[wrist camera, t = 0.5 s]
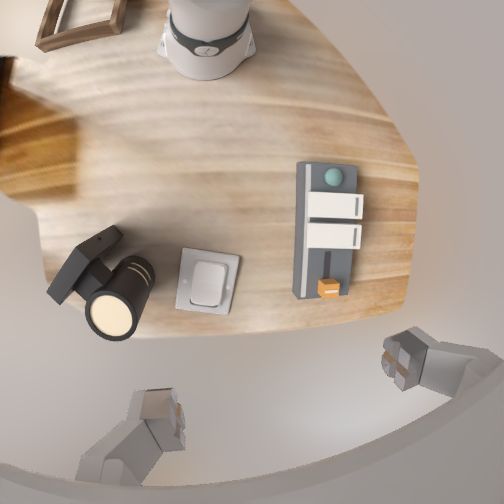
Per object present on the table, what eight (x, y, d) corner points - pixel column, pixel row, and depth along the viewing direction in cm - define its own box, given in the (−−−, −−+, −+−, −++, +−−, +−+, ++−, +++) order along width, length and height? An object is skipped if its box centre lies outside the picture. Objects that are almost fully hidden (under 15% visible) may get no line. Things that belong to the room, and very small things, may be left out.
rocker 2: (306, 221, 51) (307, 223, 50) (359, 223, 51) (362, 225, 49) (305, 245, 52) (306, 247, 51) (357, 247, 52) (360, 249, 50)
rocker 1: (307, 191, 50) (308, 191, 48) (360, 194, 49) (363, 194, 48) (306, 215, 51) (307, 217, 49) (359, 217, 50) (362, 219, 49)
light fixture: (135, 305, 54) (114, 354, 37) (85, 259, 50) (45, 293, 33) (166, 272, 54) (152, 313, 37) (114, 223, 50) (77, 245, 33)
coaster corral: (62, -7, 32) (55, -17, 27) (134, -25, 35) (131, -37, 30) (44, 52, 37) (34, 45, 32) (121, 34, 40) (115, 23, 35)
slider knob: (318, 279, 55) (325, 285, 52) (333, 278, 55) (340, 283, 52) (317, 292, 56) (323, 299, 53) (332, 291, 56) (338, 297, 53)
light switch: (174, 315, 53) (181, 252, 50) (175, 305, 57) (183, 246, 54) (229, 322, 55) (241, 261, 52) (227, 312, 59) (238, 254, 56)
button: (323, 167, 50) (327, 167, 48) (339, 169, 50) (342, 169, 49) (323, 185, 50) (326, 185, 49) (338, 186, 51) (342, 186, 50)
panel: (296, 162, 53) (305, 161, 48) (347, 166, 55) (359, 165, 50) (292, 291, 59) (300, 301, 54) (339, 287, 61) (350, 296, 56)
